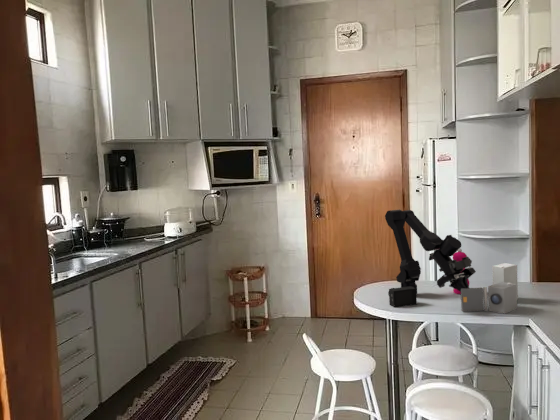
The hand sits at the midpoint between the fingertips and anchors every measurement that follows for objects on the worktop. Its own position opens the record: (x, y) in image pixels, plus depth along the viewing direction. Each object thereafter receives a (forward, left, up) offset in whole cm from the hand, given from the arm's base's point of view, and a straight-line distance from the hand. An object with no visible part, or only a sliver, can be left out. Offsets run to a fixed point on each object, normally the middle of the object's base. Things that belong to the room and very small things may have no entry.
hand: (470, 295), depth 178 cm
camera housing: (+12, +1, -6) cm, 14 cm away
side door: (+1, -1, -6) cm, 6 cm away
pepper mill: (+2, +28, -6) cm, 29 cm away
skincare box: (+17, +15, -6) cm, 23 cm away
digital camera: (-25, +10, -6) cm, 28 cm away
